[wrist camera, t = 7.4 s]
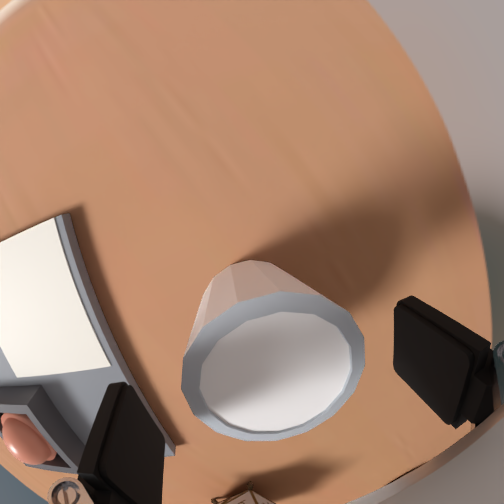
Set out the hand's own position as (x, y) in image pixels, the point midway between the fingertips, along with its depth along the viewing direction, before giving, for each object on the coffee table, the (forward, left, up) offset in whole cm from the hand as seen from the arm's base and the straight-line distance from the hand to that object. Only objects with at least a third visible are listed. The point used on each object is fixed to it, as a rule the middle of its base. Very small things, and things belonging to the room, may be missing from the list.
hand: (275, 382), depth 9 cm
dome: (-6, +19, -6) cm, 21 cm away
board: (-2, +16, -7) cm, 18 cm away
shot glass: (-1, 0, -8) cm, 8 cm away
